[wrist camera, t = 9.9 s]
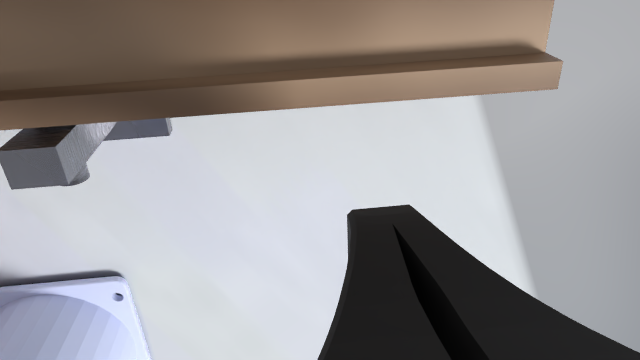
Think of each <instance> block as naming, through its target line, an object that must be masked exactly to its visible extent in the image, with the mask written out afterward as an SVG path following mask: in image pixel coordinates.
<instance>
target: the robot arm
mask: <svg viewBox="0 0 640 360" xmlns="http://www.w3.org/2000/svg"><path fill="white" fill-rule="evenodd" d="M347 227H348V264H347V270H346V275H345V279H344V283H343V287H342V291H341V295H340V299H339V302H338V306H337V309H336V312H335V315H334V318H333V321H332V324H331V327H330V330H329V333H328V335H327V338H326V341H325V343H324V346H323V348H322V350H321V353H320V355H319V357H318V360H640V353H639V352H637V351H634V350H632V349H630V348H628V347H626V346H624V345H622V344H620V343H617V342H616V341H614V340H611V339H610V338H607V337H606V336H603V335H601V334H599V333H597V332H595V331H593V330H591V329H589V328H587V327H585V326H584V325H582V324H580V323H577V322H576V321H574V320H572V319H570V318H568V317H567V316H565V315H563V314H561V313H560V312H558V311H556V310H555V309H553V308H551V307H549V306H547V305H546V304H544V303H542V302H541V301H539V300H537V299H536V298H534V297H532V296H531V295H529V294H527V293H526V292H524V291H523V290H521V289H519V288H518V287H516V286H515V285H513V284H512V283H510V282H509V281H507V280H506V279H505V278H503V277H502V276H500V275H499V274H497V273H496V272H494V271H493V270H491V269H490V268H488V267H487V266H486V265H484V264H483V263H482V262H480V261H479V260H477V259H476V258H475V257H473V256H472V255H471V254H469V253H468V252H467V251H466V250H464V249H463V248H462V247H460V246H459V245H458V244H457V243H455V242H454V241H453V240H452V239H450V238H449V237H448V236H447V235H445V234H444V233H443V232H442V231H440V230H439V229H438V228H437V227H436V226H434V225H433V224H432V223H431V222H430V221H428V220H427V219H426V218H425V217H424V216H422V215H421V214H420V213H419V212H418V211H416V210H415V209H414V208H413V207H412V206H410V205H400V206H389V207H378V208H367V209H356V210H352V211H351V212H350V213H349V214H348V215H347ZM115 293H120V294H122V295H123V296H118V295H116V294H115ZM0 360H152V359H151V356H150V353H149V349H148V346H147V343H146V340H145V337H144V333H143V330H142V327H141V324H140V321H139V317H138V314H137V311H136V308H135V305H134V301H133V298H132V295H131V292H130V289H129V285H128V283H127V281H126V280H125V279H124V278H122V277H119V276H111V277H101V278H90V279H80V280H69V281H59V282H48V283H38V284H27V285H17V286H6V287H0Z"/></svg>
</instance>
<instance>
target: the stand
mask: <svg viewBox="0 0 640 360" xmlns="http://www.w3.org/2000/svg"><path fill="white" fill-rule="evenodd" d="M171 131H172V127H171V122H170V118H160V119H146V120H133V121H119V122H106V123H92V124H79V125H65V126H52V127H38V128H25V129H22V130H21V131H20V132H19V133H18V134H16V135H15V136H14V137H13V138H12V139H10V140H9V141H8V142H7V143H5V144H4V145H3V146H2V147H1V148H0V163H1V166H2V168H3V170H4V173H5V175H6V178H7V180H8V182H9V185H10V187H11V190H12V189H23V188H35V187H47V186H59V185H60V186H72V185H76V184H79V183H82V182H84V181H86V180H87V179H88V178H89V177H90V174H89V171H88V168H87V165H86V162H87V160H88V159H89V158H90V156H91V155H92V154H93V153H94V151H95V150H96V149H97V147H98V146H99V145H100V144H101V142H102V141H107V140H120V139H132V138H145V137H158V136H169V135H170V133H171Z"/></svg>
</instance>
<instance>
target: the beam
mask: <svg viewBox="0 0 640 360" xmlns="http://www.w3.org/2000/svg"><path fill="white" fill-rule="evenodd" d="M553 5H554V0H0V130H11V129H25V128H38V127H52V126H65V125H79V124H92V123H106V122H119V121H133V120H146V119H160V118H173V117H187V116H200V115H214V114H227V113H241V112H254V111H268V110H281V109H295V108H308V107H322V106H335V105H349V104H362V103H376V102H389V101H403V100H416V99H430V98H443V97H457V96H470V95H484V94H497V93H511V92H524V91H538V90H551V89H558V84H559V79H560V74H561V69H562V64H563V61H562V60H560V59H558V58H555V57H553V56H551V55H549V54H547V53H545V49H546V44H547V39H548V33H549V28H550V22H551V16H552V11H553Z"/></svg>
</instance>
